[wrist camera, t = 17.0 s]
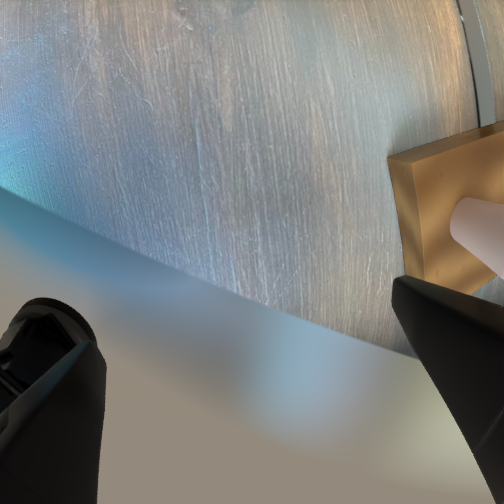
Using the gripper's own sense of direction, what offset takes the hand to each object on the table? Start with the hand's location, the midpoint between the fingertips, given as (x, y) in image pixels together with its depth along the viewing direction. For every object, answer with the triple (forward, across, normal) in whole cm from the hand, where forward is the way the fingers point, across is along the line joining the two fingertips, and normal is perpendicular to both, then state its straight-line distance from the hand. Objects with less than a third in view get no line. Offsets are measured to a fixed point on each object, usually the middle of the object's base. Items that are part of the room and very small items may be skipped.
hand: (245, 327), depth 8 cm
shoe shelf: (+14, -23, +4) cm, 27 cm away
